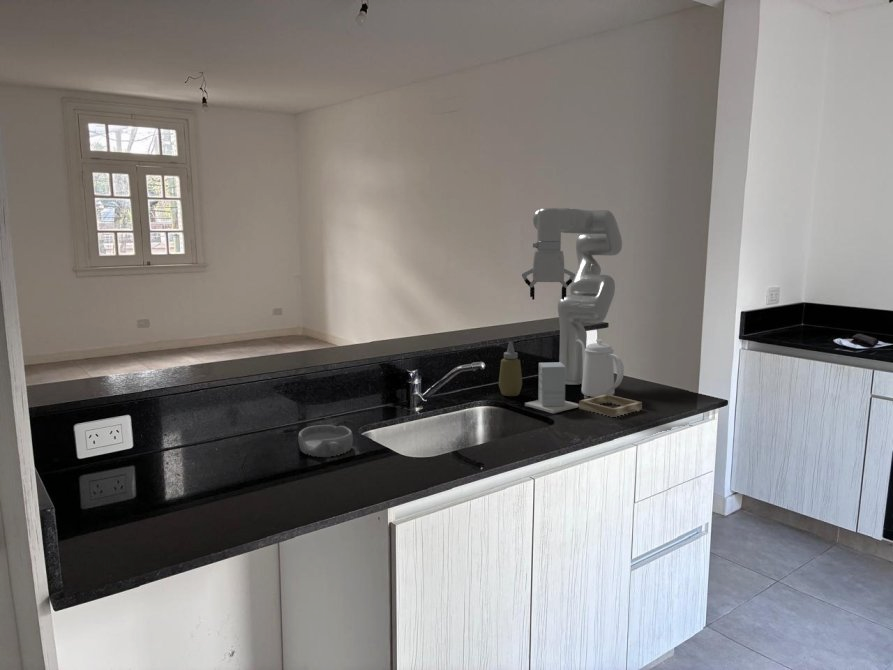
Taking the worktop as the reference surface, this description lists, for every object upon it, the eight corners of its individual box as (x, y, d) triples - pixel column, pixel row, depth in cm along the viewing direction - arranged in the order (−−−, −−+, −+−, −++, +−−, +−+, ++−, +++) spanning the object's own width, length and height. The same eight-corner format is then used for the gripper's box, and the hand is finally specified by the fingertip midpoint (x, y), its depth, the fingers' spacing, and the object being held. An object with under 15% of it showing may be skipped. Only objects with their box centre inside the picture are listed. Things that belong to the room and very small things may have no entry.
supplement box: (560, 400, 214) (561, 361, 212) (565, 406, 206) (566, 366, 204) (537, 400, 213) (538, 362, 211) (541, 406, 206) (542, 366, 204)
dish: (342, 461, 162) (341, 441, 161) (289, 457, 165) (288, 438, 164) (361, 442, 176) (361, 424, 175) (312, 439, 179) (311, 421, 178)
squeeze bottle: (496, 396, 222) (496, 343, 219) (501, 391, 229) (501, 339, 227) (519, 398, 220) (520, 344, 217) (524, 392, 227) (524, 340, 224)
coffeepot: (587, 384, 238) (588, 332, 235) (634, 400, 216) (636, 343, 213) (562, 388, 233) (563, 335, 230) (607, 404, 211) (609, 346, 208)
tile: (551, 399, 218) (551, 396, 218) (579, 406, 209) (579, 404, 209) (524, 405, 211) (524, 403, 211) (553, 413, 201) (553, 410, 201)
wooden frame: (606, 401, 215) (606, 394, 214) (641, 410, 204) (641, 402, 204) (578, 408, 207) (579, 400, 206) (614, 417, 196) (614, 409, 196)
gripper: (522, 247, 213) (521, 300, 216) (576, 247, 211) (575, 300, 214) (522, 246, 221) (521, 298, 223) (575, 246, 219) (573, 298, 221)
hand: (547, 299), depth 219 cm, fingers open, 9 cm apart
